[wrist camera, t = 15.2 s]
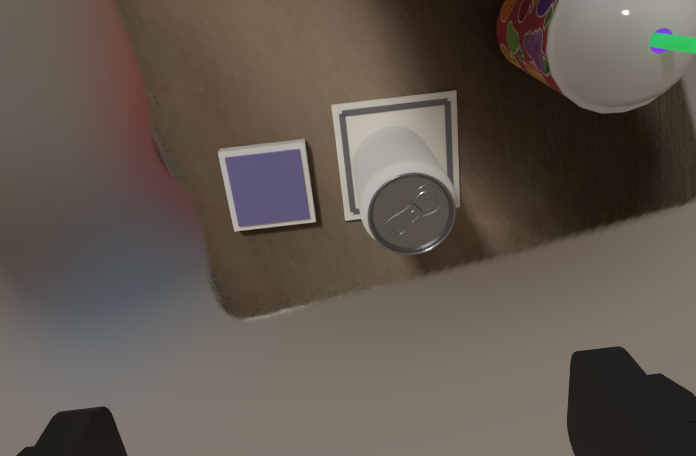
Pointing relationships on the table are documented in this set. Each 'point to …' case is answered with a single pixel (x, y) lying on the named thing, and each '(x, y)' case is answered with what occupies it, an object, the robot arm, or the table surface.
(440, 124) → the card
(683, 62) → the smoothie
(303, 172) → the ink pad
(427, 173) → the can
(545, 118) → the table surface
